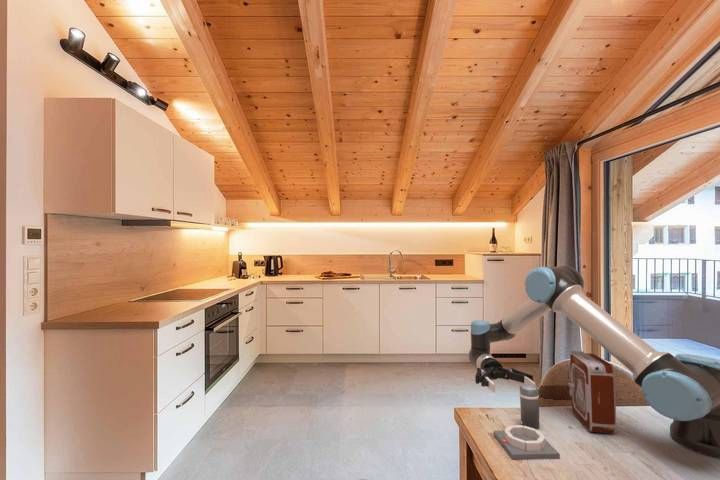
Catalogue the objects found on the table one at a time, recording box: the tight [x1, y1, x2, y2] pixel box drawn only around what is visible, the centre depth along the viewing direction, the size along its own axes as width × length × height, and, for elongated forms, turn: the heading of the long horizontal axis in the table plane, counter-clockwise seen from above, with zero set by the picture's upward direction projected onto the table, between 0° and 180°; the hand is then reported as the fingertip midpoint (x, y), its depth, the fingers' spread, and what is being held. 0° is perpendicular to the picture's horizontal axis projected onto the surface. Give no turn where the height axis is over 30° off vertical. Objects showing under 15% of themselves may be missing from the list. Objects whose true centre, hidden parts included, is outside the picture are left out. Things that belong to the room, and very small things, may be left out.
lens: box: [519, 384, 540, 430], centre depth 107 cm, size 5×5×11 cm
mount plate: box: [493, 424, 561, 460], centre depth 95 cm, size 12×12×3 cm
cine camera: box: [567, 350, 617, 434], centre depth 110 cm, size 9×19×20 cm, turn 168°
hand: (514, 387), depth 116 cm, fingers open, 13 cm apart
